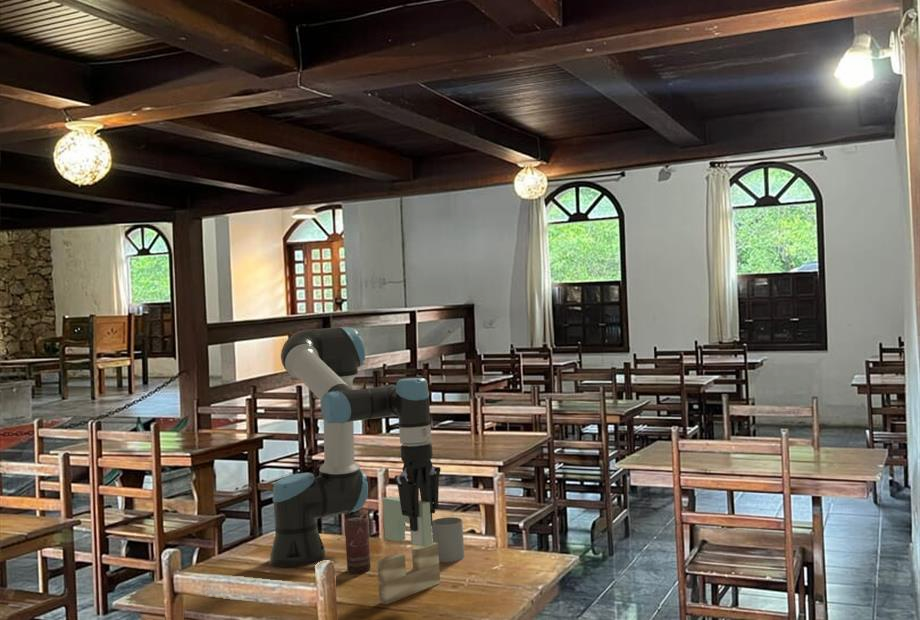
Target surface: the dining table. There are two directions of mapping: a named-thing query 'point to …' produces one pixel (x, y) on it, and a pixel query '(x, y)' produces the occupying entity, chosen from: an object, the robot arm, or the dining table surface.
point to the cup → (448, 538)
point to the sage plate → (405, 520)
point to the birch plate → (408, 573)
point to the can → (357, 544)
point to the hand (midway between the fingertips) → (422, 542)
